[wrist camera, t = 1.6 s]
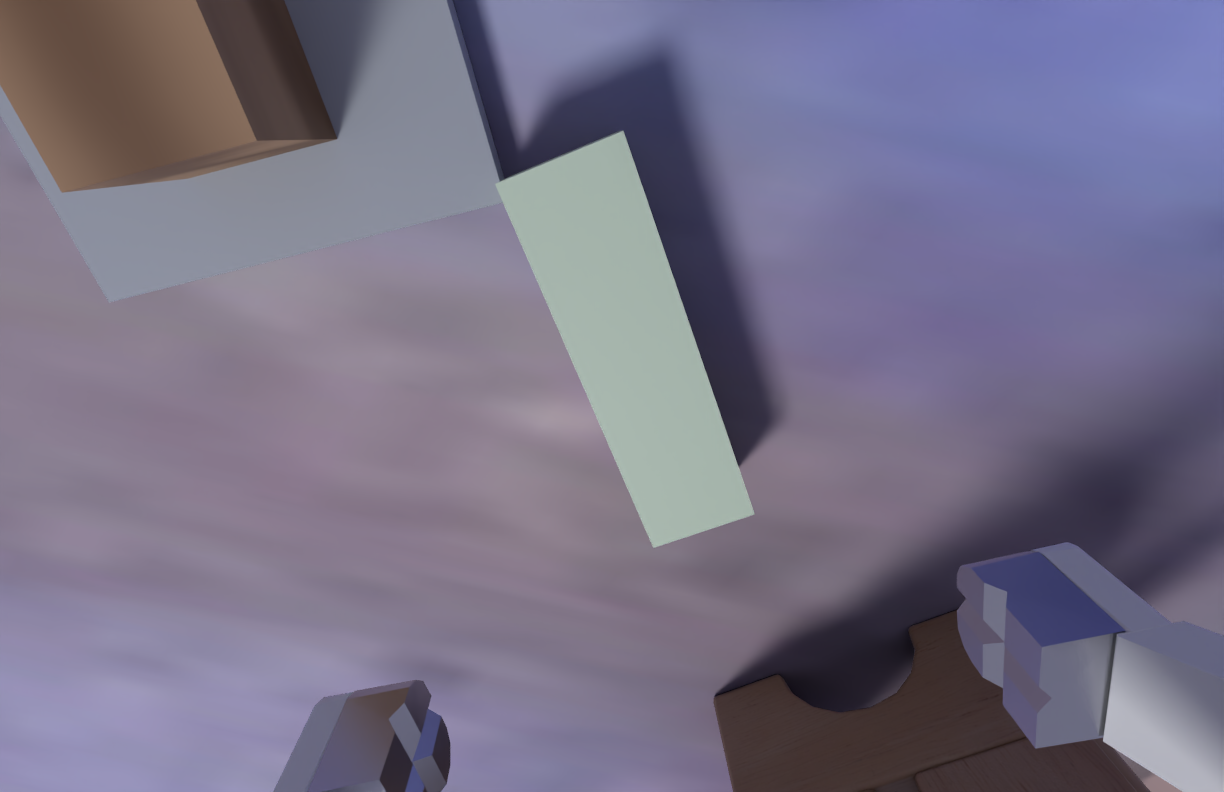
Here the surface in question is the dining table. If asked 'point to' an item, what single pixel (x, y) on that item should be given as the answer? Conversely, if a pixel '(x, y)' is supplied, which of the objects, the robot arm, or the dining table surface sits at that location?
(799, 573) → the dining table surface
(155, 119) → the pillar
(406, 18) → the board
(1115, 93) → the dining table surface
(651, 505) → the plank
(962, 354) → the dining table surface
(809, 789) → the wooden toy
